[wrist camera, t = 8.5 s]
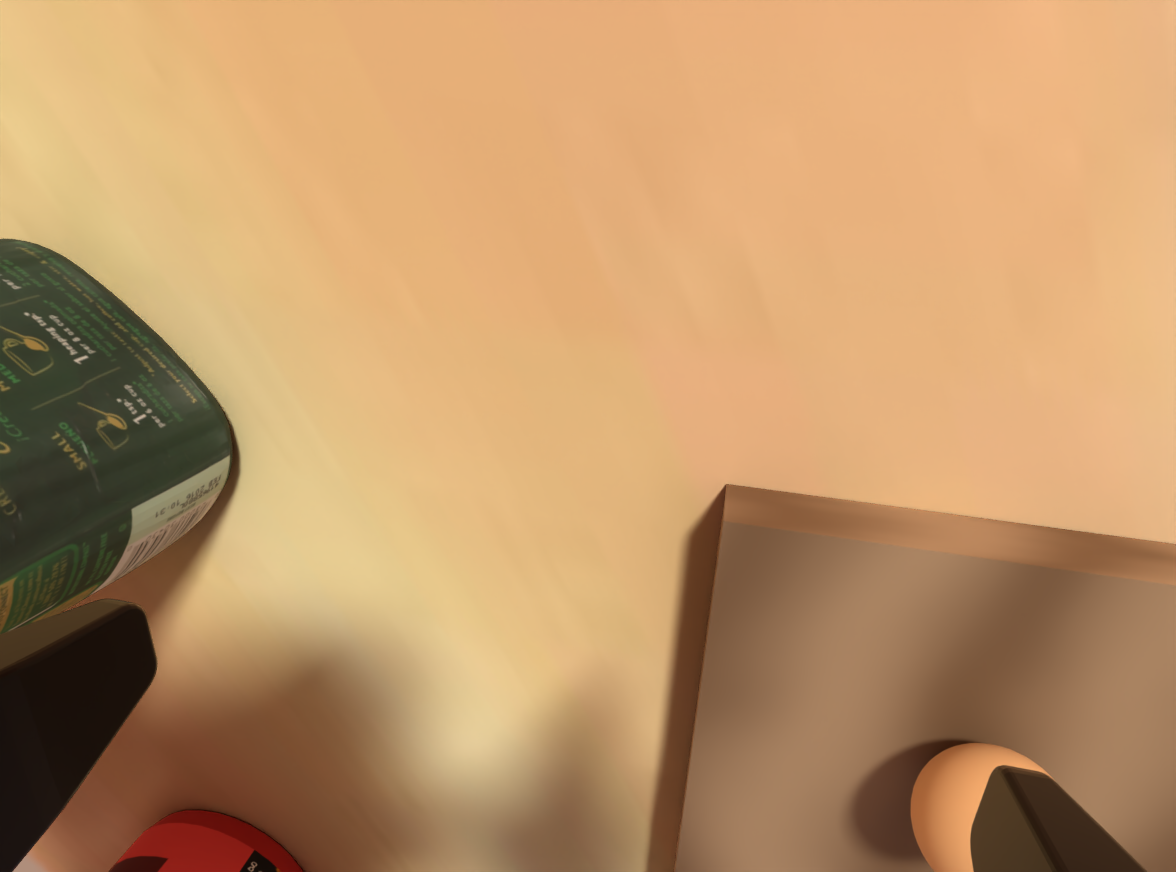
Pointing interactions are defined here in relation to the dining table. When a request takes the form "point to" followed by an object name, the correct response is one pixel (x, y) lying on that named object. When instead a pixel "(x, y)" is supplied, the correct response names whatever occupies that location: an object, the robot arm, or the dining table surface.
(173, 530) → the coffee jar
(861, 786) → the board
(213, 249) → the dining table surface
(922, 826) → the ball
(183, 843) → the canned food
